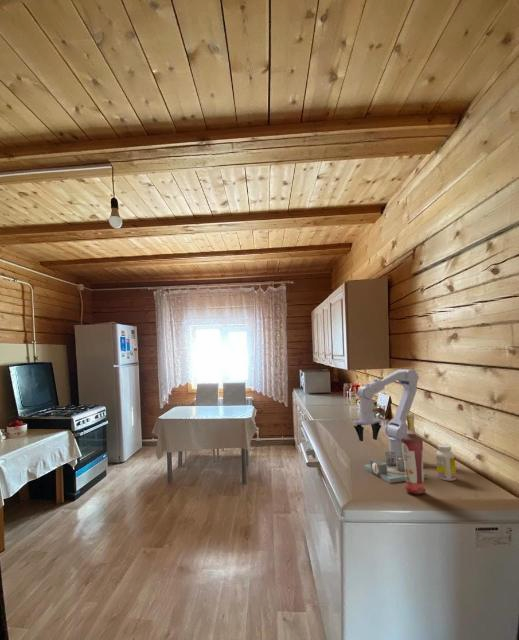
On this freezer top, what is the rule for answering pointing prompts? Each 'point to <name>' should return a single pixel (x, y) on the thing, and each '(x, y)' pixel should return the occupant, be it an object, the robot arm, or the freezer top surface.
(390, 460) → the cylinder
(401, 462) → the cylinder
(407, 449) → the liquor
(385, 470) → the scale
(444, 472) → the supplement bottle
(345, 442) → the freezer top surface
